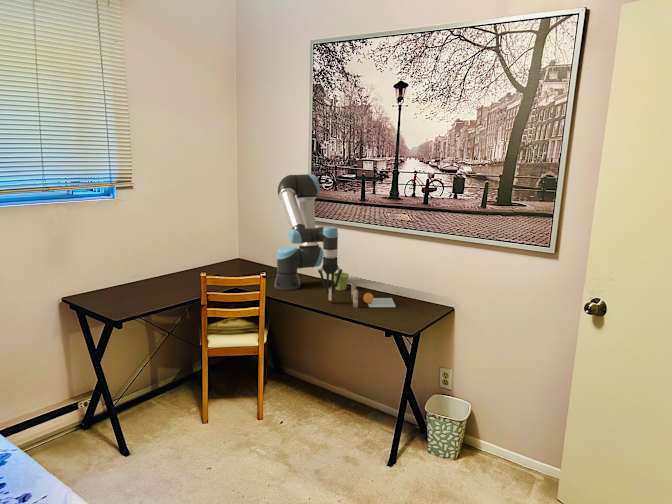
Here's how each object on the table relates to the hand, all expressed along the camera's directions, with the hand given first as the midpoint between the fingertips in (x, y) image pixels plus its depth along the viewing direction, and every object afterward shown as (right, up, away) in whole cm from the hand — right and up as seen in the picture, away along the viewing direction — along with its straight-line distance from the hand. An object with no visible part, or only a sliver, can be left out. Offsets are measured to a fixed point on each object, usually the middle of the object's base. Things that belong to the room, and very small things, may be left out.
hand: (330, 299), depth 262 cm
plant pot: (+6, +4, +24) cm, 25 cm away
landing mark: (+27, -2, +2) cm, 27 cm away
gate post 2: (+13, -3, -5) cm, 15 cm away
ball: (+20, +1, 0) cm, 20 cm away
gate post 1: (+13, 0, +7) cm, 15 cm away
